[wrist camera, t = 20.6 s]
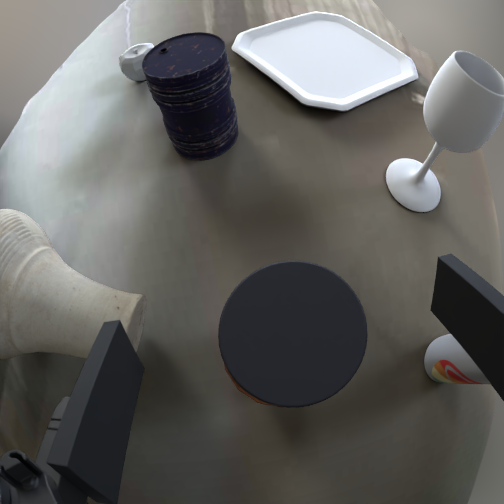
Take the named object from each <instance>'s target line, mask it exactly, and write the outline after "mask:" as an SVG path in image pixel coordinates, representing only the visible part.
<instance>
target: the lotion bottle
mask: <svg viewBox="0 0 504 504" xmlns="http://www.w3.org/2000/svg"><path fill="white" fill-rule="evenodd" d="M424 365H425V370H426V372H427V374H428V376H429V377H430V378H431V379H433V380H434V381H436V382H441V383H458V384H491V383H490V382H489V381H488V379H487V378H486V377H485V375H484V374H483V373H482V371H481V370H480V369H479V368H478V366H477V365H476V364H475V363H474V361H473V360H472V359H471V358H470V356H469V355H468V354H467V353H466V351H465V350H464V349H463V348H462V346H461V345H460V344H459V343H458V342H457V340H456V339H455V338H454V337H453V336H452V334H448V335H445V336H441V337H439V338H437V339H435V340H434V341H433V342H432V343H431V344H430V345H429V347H428V348H427V351H426V354H425V359H424Z"/></svg>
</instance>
